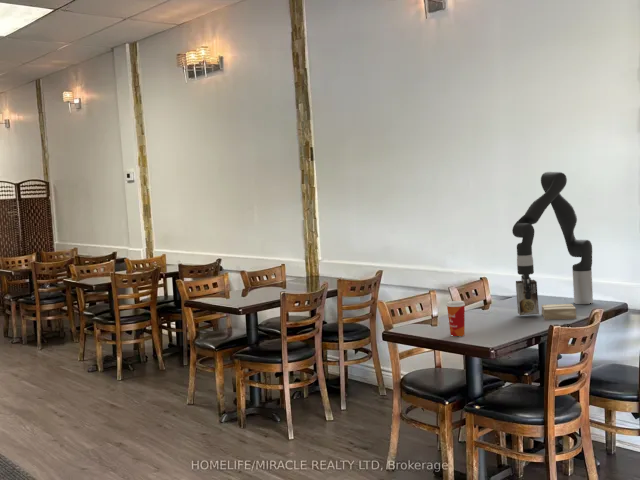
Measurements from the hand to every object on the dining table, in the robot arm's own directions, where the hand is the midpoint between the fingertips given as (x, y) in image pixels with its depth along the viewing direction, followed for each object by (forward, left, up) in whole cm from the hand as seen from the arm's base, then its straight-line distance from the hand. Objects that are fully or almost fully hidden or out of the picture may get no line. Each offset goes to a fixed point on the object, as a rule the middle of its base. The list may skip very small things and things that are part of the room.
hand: (527, 297), depth 322 cm
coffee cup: (+35, -36, -9) cm, 51 cm away
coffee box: (0, 0, -8) cm, 8 cm away
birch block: (+2, +14, -10) cm, 17 cm away
